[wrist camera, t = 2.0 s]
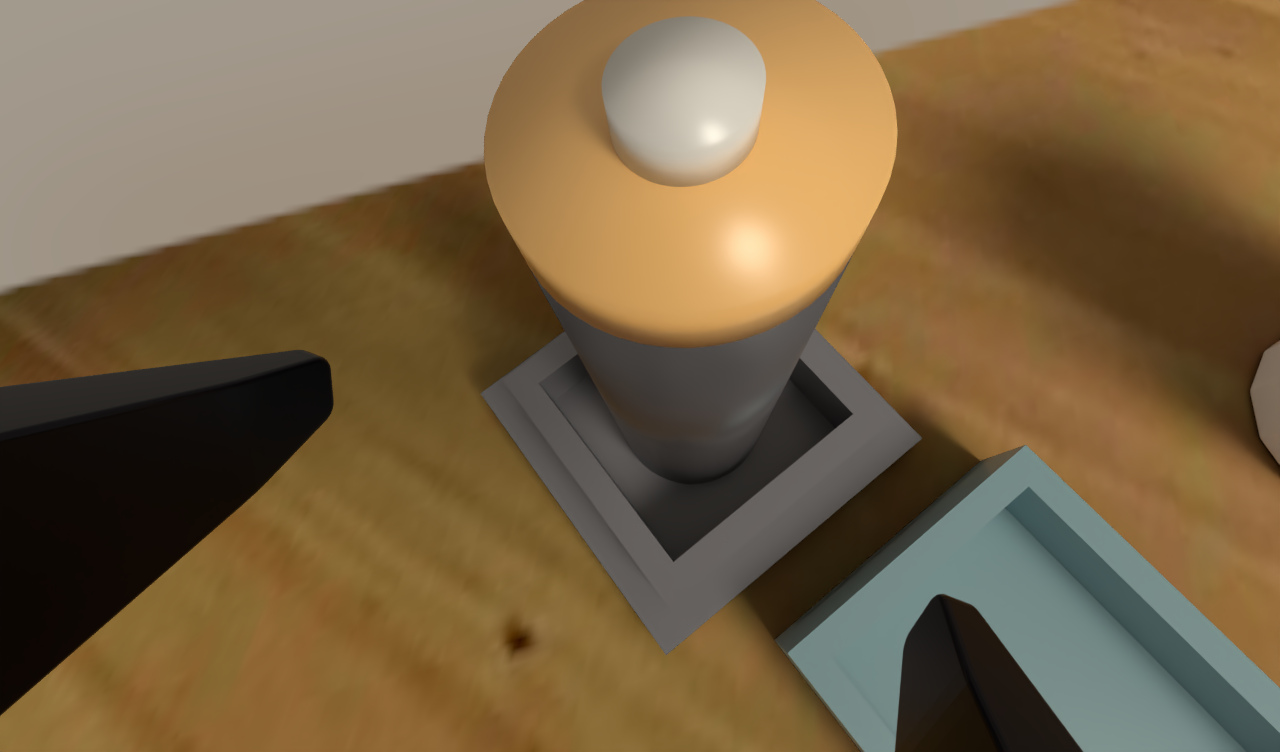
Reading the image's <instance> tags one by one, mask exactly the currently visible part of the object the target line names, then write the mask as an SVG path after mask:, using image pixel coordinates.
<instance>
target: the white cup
mask: <svg viewBox="0 0 1280 752" xmlns="http://www.w3.org/2000/svg"><path fill="white" fill-rule="evenodd" d="M1250 394H1251V399H1252V404H1253V409H1254V413H1255V418H1256V423H1257V427H1258V432H1259V436H1260V439H1261V440H1262V442H1263V443H1264V444H1265V446H1266V447H1267V449H1268V450H1269V451H1270V453H1271V454H1272V455H1273V457H1274V458H1275V460H1276V461H1277V462H1278V464H1279V465H1280V340H1279V341H1278V342H1277V343H1275V344H1274V345H1272V346H1271V347H1270V348H1268V349H1267V350H1265V351H1264V353H1263V356H1262V359H1261V361H1260V364H1259V367H1258V370H1257V372H1256V375H1255V378H1254V381H1253V383H1252V386H1251V389H1250Z"/></svg>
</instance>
